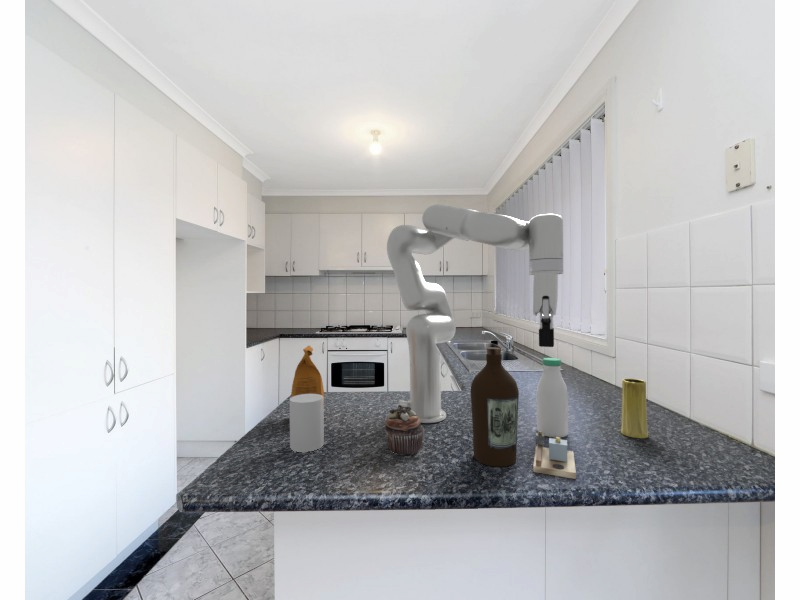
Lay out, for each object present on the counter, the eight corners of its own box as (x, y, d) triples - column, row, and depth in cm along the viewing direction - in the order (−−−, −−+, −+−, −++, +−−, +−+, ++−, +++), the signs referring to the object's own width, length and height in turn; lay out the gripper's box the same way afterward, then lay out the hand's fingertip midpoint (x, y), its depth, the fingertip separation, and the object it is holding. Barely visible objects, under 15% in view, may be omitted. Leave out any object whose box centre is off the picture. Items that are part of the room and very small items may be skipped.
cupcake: (417, 459, 82) (417, 415, 82) (378, 453, 85) (378, 411, 85) (429, 443, 91) (429, 403, 91) (393, 438, 94) (393, 400, 94)
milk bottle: (571, 439, 92) (570, 361, 92) (539, 437, 94) (539, 360, 94) (564, 428, 100) (563, 356, 100) (534, 427, 102) (534, 356, 102)
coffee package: (325, 412, 116) (325, 344, 116) (323, 426, 104) (323, 349, 104) (293, 414, 114) (293, 345, 114) (288, 428, 102) (287, 350, 102)
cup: (329, 442, 92) (329, 395, 92) (312, 455, 85) (311, 403, 84) (302, 438, 95) (302, 392, 95) (283, 450, 87) (282, 400, 87)
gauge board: (533, 471, 75) (533, 447, 75) (535, 451, 86) (535, 430, 86) (575, 478, 72) (575, 454, 72) (573, 456, 82) (573, 434, 82)
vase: (645, 432, 97) (645, 379, 97) (650, 440, 92) (650, 384, 91) (619, 429, 100) (619, 377, 100) (622, 436, 94) (622, 382, 94)
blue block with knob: (549, 459, 78) (548, 439, 78) (549, 453, 81) (549, 434, 81) (567, 461, 76) (567, 441, 76) (567, 456, 79) (566, 436, 79)
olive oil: (463, 450, 86) (462, 346, 86) (504, 446, 89) (503, 344, 89) (483, 471, 76) (482, 352, 76) (528, 465, 78) (528, 350, 78)
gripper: (531, 271, 95) (531, 341, 95) (526, 265, 79) (527, 349, 79) (562, 269, 92) (563, 342, 92) (564, 264, 76) (564, 351, 76)
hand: (546, 344), depth 85 cm, fingers open, 3 cm apart
